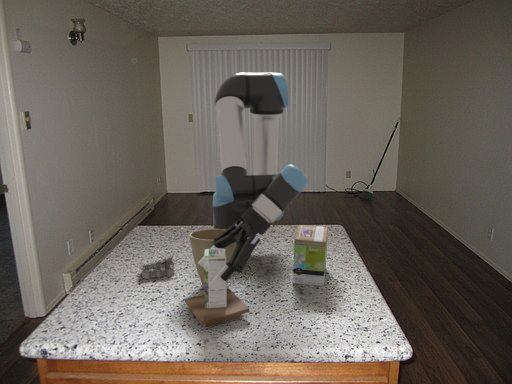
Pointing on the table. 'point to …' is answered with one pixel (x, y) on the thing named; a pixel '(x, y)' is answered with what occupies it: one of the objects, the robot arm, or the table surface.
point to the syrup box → (212, 267)
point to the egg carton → (158, 265)
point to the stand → (217, 310)
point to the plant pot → (207, 247)
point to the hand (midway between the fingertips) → (206, 276)
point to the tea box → (310, 255)
